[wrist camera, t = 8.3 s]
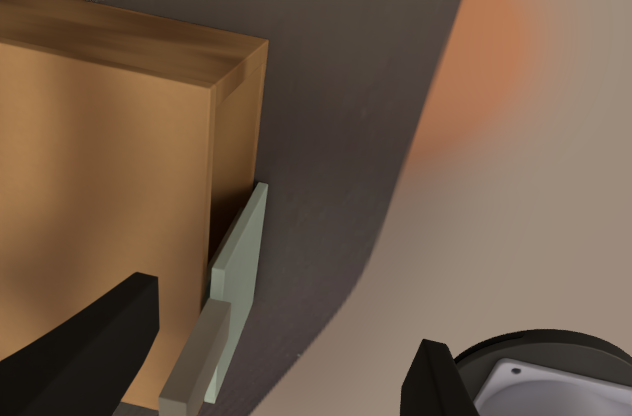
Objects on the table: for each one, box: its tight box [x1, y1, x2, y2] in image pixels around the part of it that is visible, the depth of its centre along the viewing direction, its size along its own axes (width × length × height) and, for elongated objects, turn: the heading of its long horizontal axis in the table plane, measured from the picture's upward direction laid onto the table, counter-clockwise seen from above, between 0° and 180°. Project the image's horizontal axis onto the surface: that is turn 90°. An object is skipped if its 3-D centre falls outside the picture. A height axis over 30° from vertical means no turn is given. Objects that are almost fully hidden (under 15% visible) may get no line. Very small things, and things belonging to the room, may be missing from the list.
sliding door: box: [158, 182, 268, 416], centre depth 19 cm, size 1×8×11 cm, turn 171°
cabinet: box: [0, 0, 269, 416], centre depth 20 cm, size 10×16×7 cm, turn 171°
